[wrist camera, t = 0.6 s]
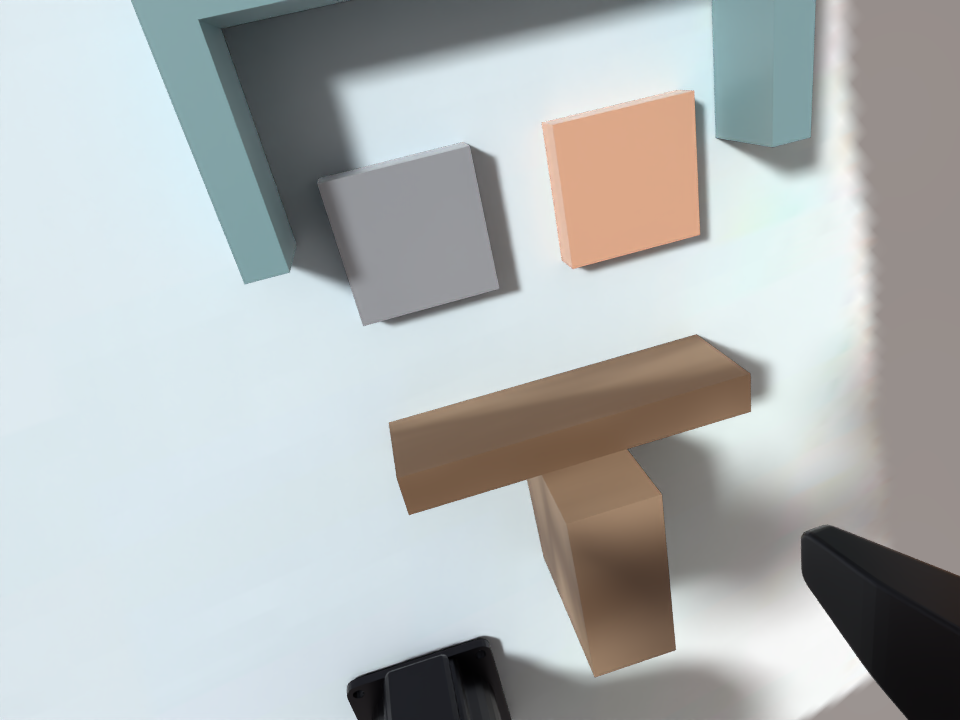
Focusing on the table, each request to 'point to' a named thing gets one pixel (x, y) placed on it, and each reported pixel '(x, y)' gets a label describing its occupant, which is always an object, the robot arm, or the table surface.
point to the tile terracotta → (624, 177)
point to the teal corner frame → (223, 3)
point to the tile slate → (411, 232)
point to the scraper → (582, 478)
